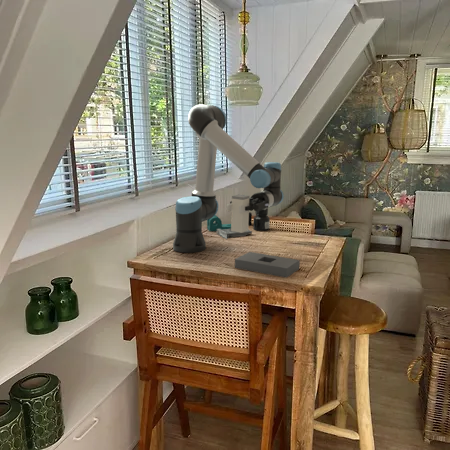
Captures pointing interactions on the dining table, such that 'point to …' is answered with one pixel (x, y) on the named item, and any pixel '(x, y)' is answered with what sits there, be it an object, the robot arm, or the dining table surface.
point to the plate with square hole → (267, 264)
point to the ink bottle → (261, 220)
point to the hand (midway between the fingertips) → (233, 209)
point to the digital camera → (250, 218)
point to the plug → (239, 214)
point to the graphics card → (232, 233)
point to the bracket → (216, 224)
